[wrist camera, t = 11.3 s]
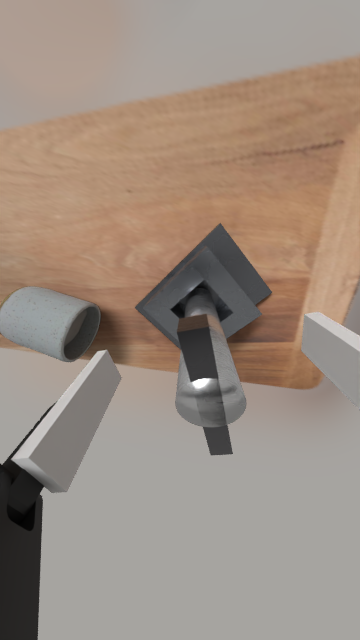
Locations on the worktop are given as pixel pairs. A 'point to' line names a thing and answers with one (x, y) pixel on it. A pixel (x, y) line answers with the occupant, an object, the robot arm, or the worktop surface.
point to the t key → (207, 373)
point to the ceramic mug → (49, 322)
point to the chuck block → (208, 287)
